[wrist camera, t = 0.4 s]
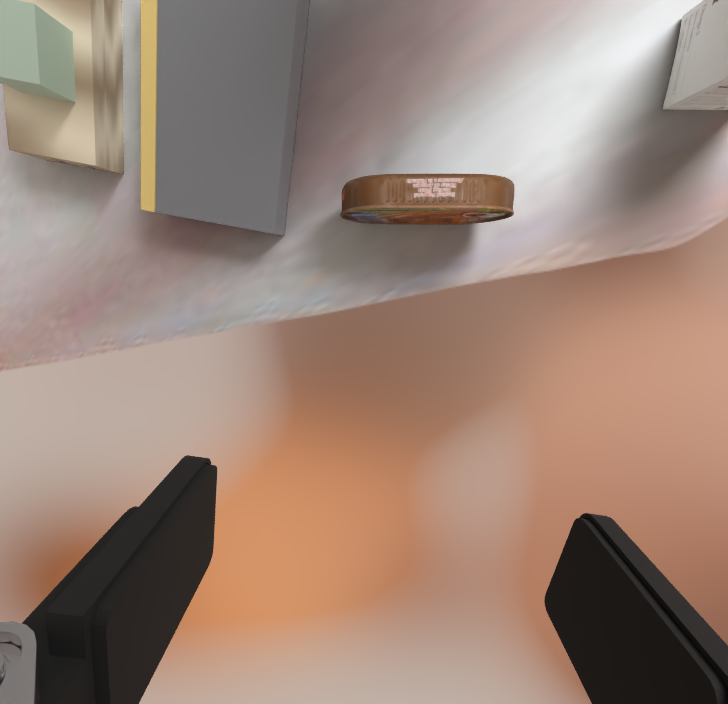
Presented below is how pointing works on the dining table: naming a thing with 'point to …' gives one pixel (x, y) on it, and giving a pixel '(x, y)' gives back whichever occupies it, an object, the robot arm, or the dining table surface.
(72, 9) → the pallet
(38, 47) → the box
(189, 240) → the dining table surface
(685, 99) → the supplement box
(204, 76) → the dock
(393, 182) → the tin
